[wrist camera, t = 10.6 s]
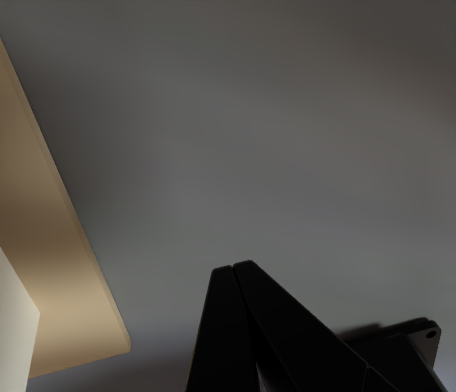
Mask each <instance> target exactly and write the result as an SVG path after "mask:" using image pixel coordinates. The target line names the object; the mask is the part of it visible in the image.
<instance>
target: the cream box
mask: <svg viewBox="0 0 456 392" xmlns="http://www.w3.org/2000/svg"><path fill="white" fill-rule="evenodd" d="M39 317H40V312H39V311H38V309H37V307H36V306H35V304H34V302H33V301H32V299H31V297H30V296H29V294H28V292H27V291H26V289H25V287H24V286H23V284H22V282H21V281H20V279H19V277H18V276H17V274H16V272H15V271H14V269H13V267H12V266H11V264H10V262H9V261H8V259H7V257H6V256H5V254H4V252H3V251H2V249H1V247H0V392H25V391H26V386H27V380H28V375H29V370H30V365H31V359H32V354H33V349H34V344H35V338H36V333H37V328H38V323H39Z"/></svg>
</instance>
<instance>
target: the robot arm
mask: <svg viewBox="0 0 456 392" xmlns="http://www.w3.org/2000/svg"><path fill="white" fill-rule="evenodd" d="M440 336H441V328H440V327H439V326H438V324H437V323H436V322H435V321H432V320H430V321H425V322H421V323H418V324H414V325H410V326H407V327H403V328H400V329H396V330H392V331H389V332H385V333H381V334H378V335H374V336H370V337H367V338H363V339H360V340H356V341H352V342H349V343H344V342H343V341H342V340H341V339H340V338H339V337H338V336H337V335H335V334H334V333H333V332H332V331H331V330H330V329H329V328H328V327H326V326H325V325H324V324H323V323H322V322H321V321H320V320H319V319H317V318H316V317H315V316H314V315H313V314H312V313H311V312H310V311H309V310H307V309H306V308H305V307H304V306H303V305H302V304H301V303H300V302H298V301H297V300H296V299H295V298H294V297H293V296H292V295H291V294H289V293H288V292H287V291H286V290H285V289H284V288H283V287H282V286H280V285H279V284H278V283H277V282H276V281H275V280H274V279H273V278H271V277H270V276H269V275H268V274H267V273H266V272H265V271H264V270H263V269H261V268H260V267H259V266H258V265H257V264H256V263H255V262H253V261H252V260H247V261H243V262H239V263H235V264H234V265H233V267H232V266H231V265H227V266H223V267H219V268H215V269H213V270H212V273H211V277H210V281H209V286H208V290H207V294H206V299H205V303H204V308H203V312H202V316H201V321H200V325H199V329H198V334H197V338H196V342H195V347H194V351H193V355H192V360H191V364H190V369H189V373H188V377H187V382H186V386H185V390H184V392H261V391H260V384H259V378H258V372H257V367H258V370H259V372H260V375H261V378H262V380H263V383H264V385H265V387H266V390H267V392H448V391H447V390H446V388H445V387H444V385H443V384H442V382H441V381H440V379H439V378H438V376H437V375H436V373H435V372H434V370H433V366H434V362H435V358H436V353H437V349H438V344H439V340H440ZM256 364H257V366H256Z"/></svg>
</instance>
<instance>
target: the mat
mask: <svg viewBox="0 0 456 392" xmlns="http://www.w3.org/2000/svg"><path fill="white" fill-rule="evenodd" d="M0 247H1V249H2V251H3V252H4V254H5V256H6V257H7V259H8V261H9V262H10V264H11V266H12V267H13V269H14V271H15V272H16V274H17V276H18V277H19V279H20V281H21V282H22V284H23V286H24V287H25V289H26V291H27V292H28V294H29V296H30V297H31V299H32V301H33V302H34V304H35V306H36V307H37V309H38V311H39V312H40V317H39V323H38V328H37V333H36V338H35V344H34V349H33V354H32V359H31V365H30V370H29V375H28V379H29V378H33V377H37V376H41V375H45V374H48V373H52V372H56V371H60V370H63V369H67V368H71V367H75V366H79V365H82V364H86V363H90V362H94V361H97V360H101V359H105V358H109V357H113V356H116V355H120V354H124V353H128V352H131V340H130V336H129V334H128V332H127V330H126V327H125V325H124V323H123V320H122V318H121V316H120V313H119V311H118V309H117V306H116V304H115V302H114V299H113V297H112V295H111V292H110V290H109V288H108V286H107V283H106V281H105V279H104V276H103V274H102V272H101V269H100V267H99V265H98V262H97V260H96V258H95V255H94V253H93V251H92V248H91V246H90V244H89V241H88V239H87V237H86V235H85V232H84V230H83V228H82V225H81V223H80V221H79V218H78V216H77V214H76V211H75V209H74V207H73V204H72V202H71V200H70V197H69V195H68V193H67V191H66V188H65V186H64V184H63V181H62V179H61V177H60V174H59V172H58V170H57V167H56V165H55V163H54V160H53V158H52V156H51V153H50V151H49V149H48V147H47V144H46V142H45V140H44V137H43V135H42V133H41V130H40V128H39V126H38V123H37V121H36V119H35V116H34V114H33V112H32V109H31V107H30V105H29V102H28V100H27V98H26V96H25V93H24V91H23V89H22V86H21V84H20V82H19V79H18V77H17V75H16V72H15V70H14V68H13V65H12V63H11V61H10V58H9V56H8V54H7V52H6V49H5V47H4V45H3V42H2V40H1V38H0Z"/></svg>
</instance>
